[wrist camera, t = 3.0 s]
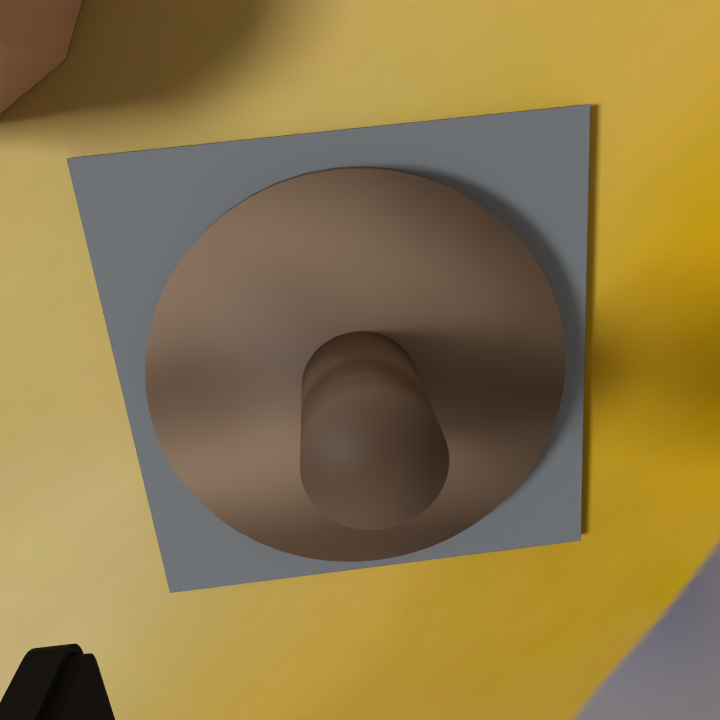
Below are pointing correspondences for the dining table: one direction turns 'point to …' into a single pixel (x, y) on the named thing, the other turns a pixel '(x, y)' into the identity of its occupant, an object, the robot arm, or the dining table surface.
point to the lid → (355, 364)
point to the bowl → (32, 42)
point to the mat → (313, 153)
